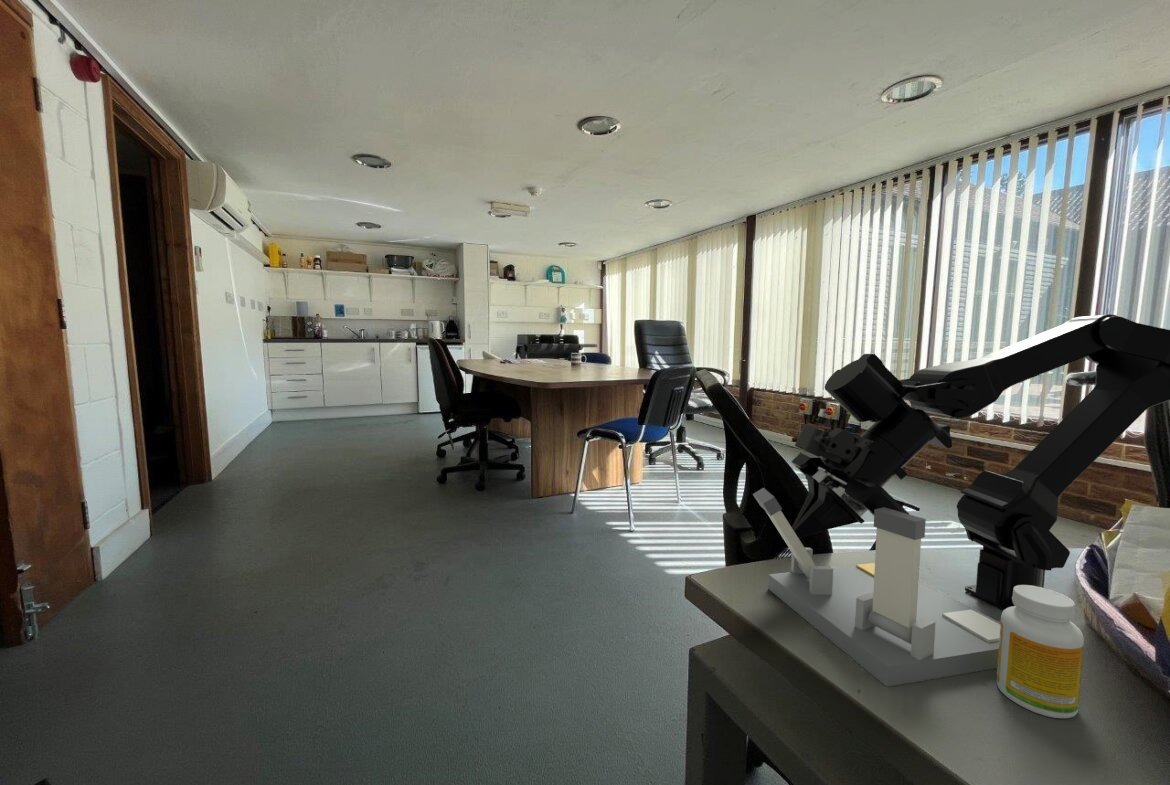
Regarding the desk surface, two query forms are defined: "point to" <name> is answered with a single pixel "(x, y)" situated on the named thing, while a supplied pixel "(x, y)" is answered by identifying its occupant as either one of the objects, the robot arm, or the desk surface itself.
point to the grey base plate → (840, 612)
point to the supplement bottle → (1040, 652)
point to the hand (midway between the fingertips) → (793, 534)
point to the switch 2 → (896, 571)
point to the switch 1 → (785, 529)
